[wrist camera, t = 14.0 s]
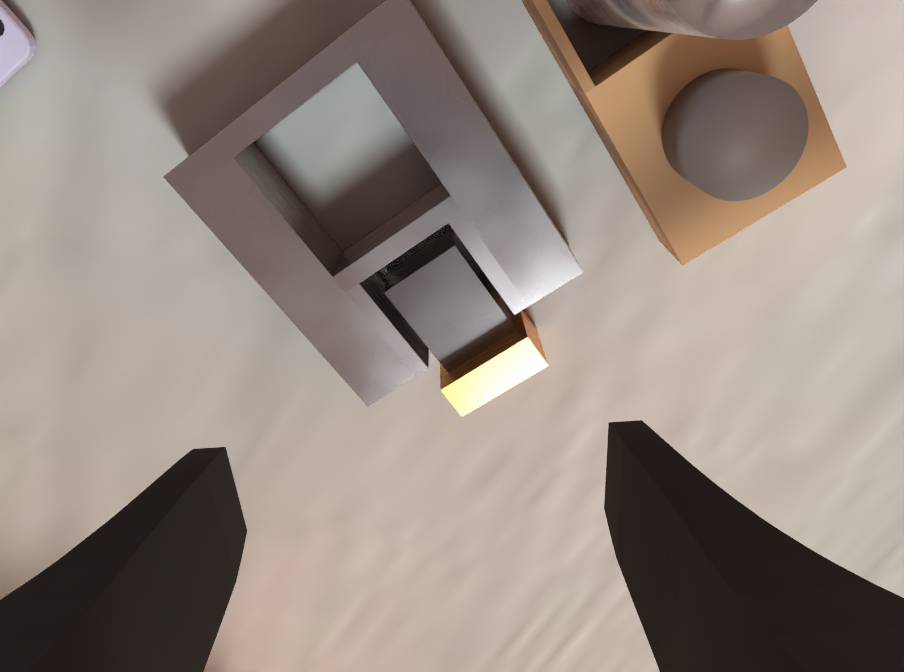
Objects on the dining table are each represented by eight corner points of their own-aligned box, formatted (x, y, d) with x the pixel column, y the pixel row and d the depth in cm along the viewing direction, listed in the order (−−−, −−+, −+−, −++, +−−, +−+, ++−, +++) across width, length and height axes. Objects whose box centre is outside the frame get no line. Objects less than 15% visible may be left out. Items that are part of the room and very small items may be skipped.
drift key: (380, 276, 22) (373, 308, 20) (461, 221, 21) (464, 248, 19) (459, 375, 24) (462, 416, 21) (536, 328, 23) (548, 365, 20)
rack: (470, -90, 17) (479, -115, 14) (640, -227, 16) (698, -293, 13) (660, 241, 22) (704, 288, 18) (806, 151, 20) (886, 183, 17)
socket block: (190, 159, 20) (163, 176, 18) (404, -11, 18) (400, -13, 16) (373, 372, 23) (367, 406, 21) (569, 247, 22) (583, 272, 20)
